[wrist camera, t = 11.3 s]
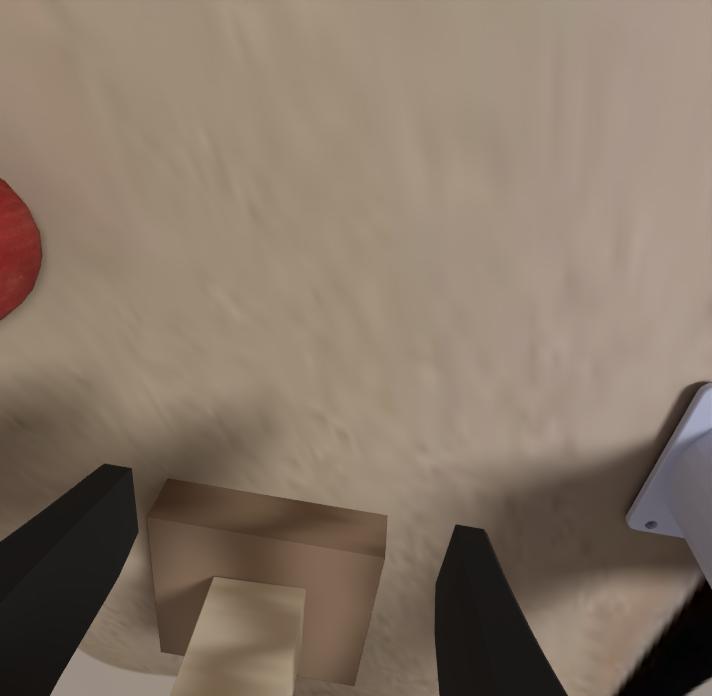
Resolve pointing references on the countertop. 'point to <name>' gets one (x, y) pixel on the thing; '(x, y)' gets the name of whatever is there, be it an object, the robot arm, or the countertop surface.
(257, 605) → the beech block
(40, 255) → the onion
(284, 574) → the walnut block
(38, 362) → the countertop surface
